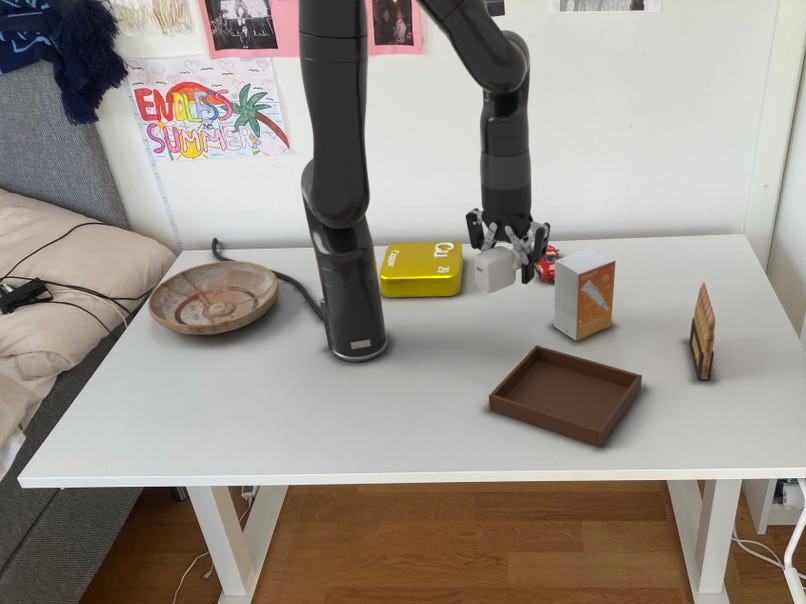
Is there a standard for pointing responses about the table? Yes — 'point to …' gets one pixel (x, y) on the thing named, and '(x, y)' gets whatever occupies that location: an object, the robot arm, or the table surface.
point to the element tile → (422, 269)
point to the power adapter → (496, 268)
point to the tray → (566, 395)
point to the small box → (583, 293)
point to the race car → (547, 265)
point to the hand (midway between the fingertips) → (508, 277)
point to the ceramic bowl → (214, 297)
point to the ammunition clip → (702, 336)
